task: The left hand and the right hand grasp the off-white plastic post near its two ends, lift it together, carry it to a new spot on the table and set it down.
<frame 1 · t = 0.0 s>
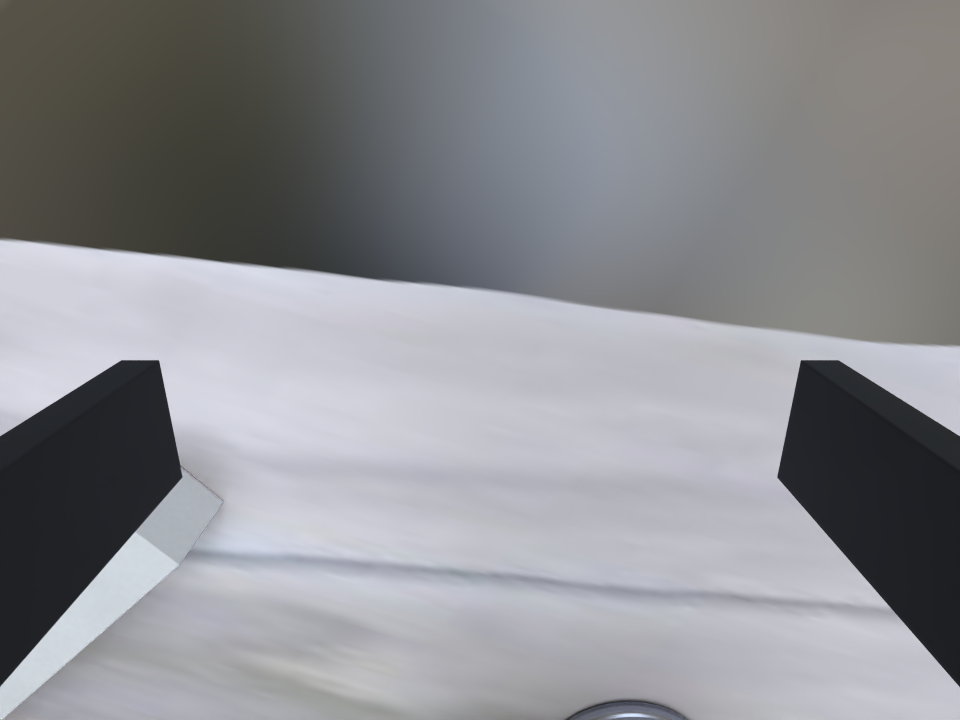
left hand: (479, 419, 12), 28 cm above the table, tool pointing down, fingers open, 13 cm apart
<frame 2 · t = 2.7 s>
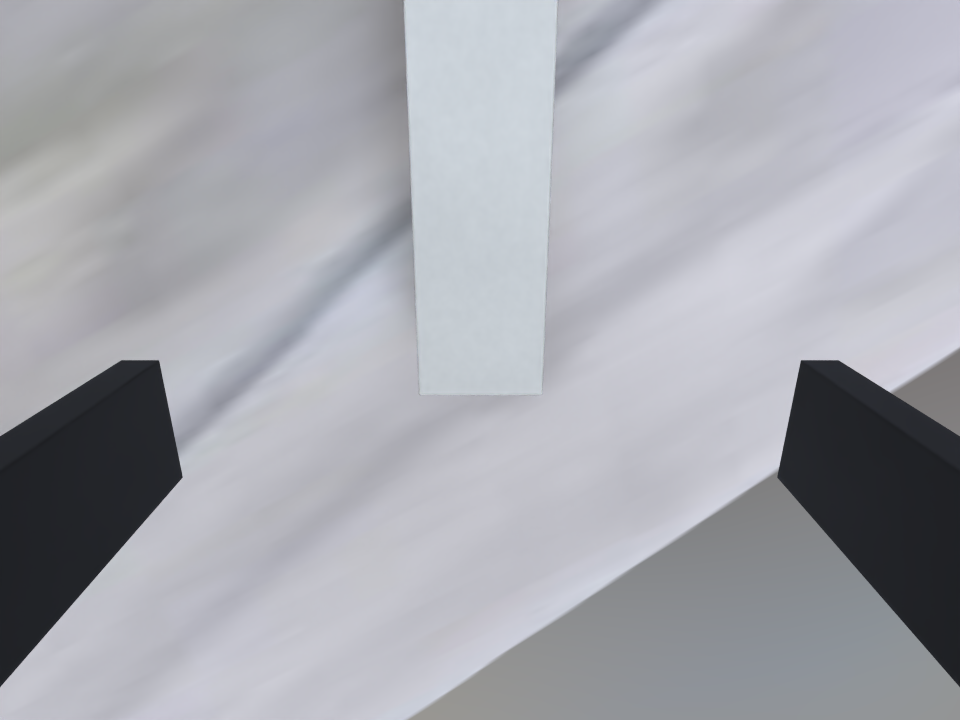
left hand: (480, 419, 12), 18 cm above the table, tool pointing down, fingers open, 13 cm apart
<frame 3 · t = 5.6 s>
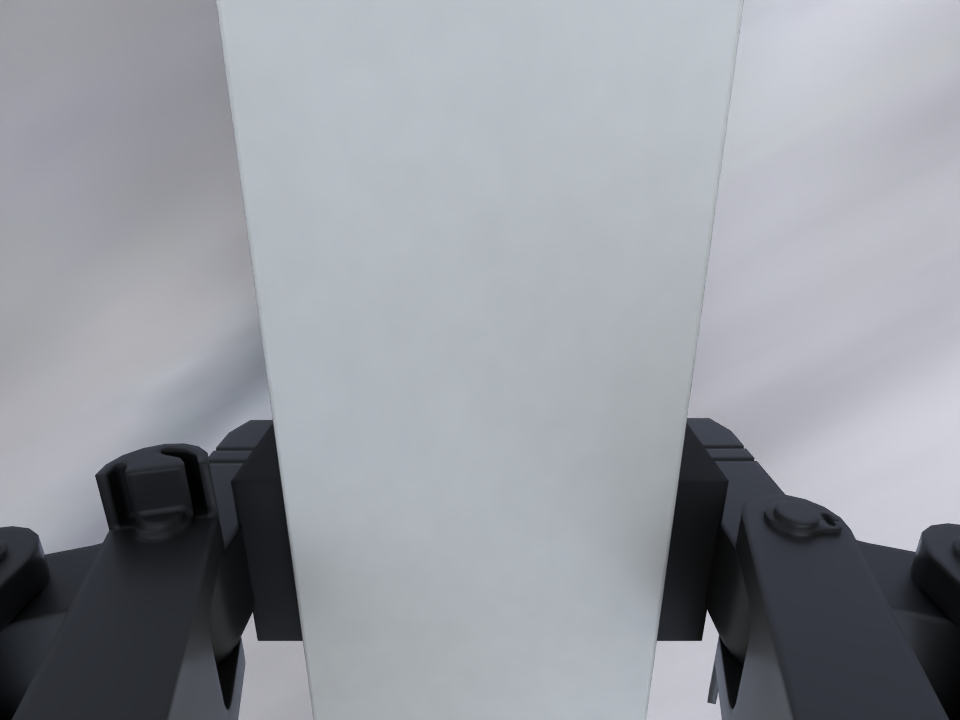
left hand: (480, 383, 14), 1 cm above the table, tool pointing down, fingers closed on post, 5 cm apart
when the left hand's fingers open (1 cm above the table, at t = 10.3 s): post stays where it is, on the table.
when the right hand's fingers open (3 cm above the table, at t = 10.5 s): post stays where it is, on the table.
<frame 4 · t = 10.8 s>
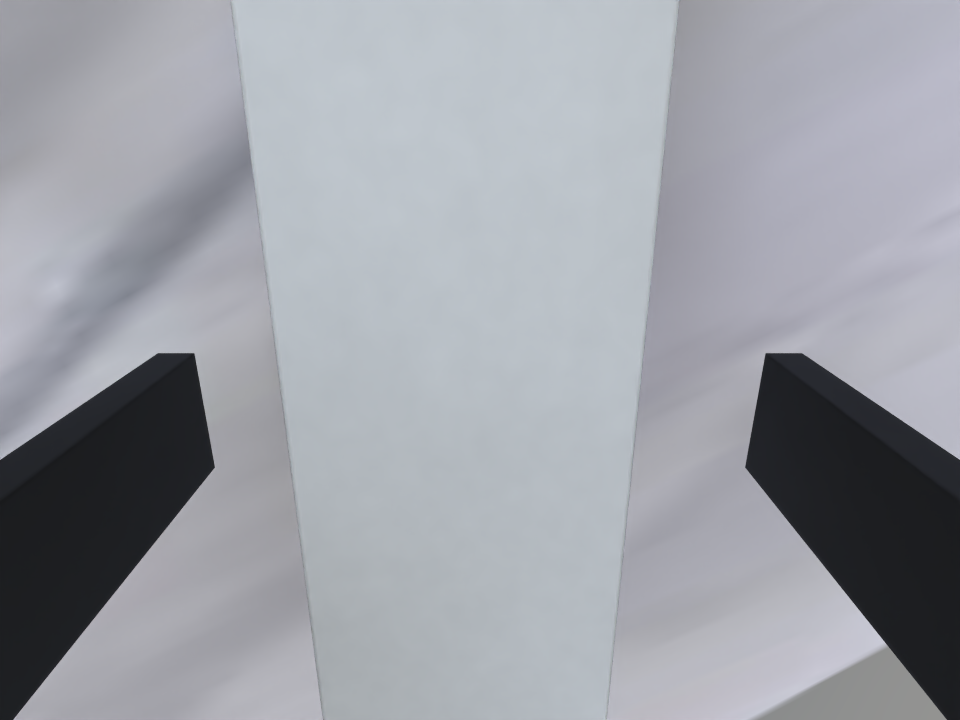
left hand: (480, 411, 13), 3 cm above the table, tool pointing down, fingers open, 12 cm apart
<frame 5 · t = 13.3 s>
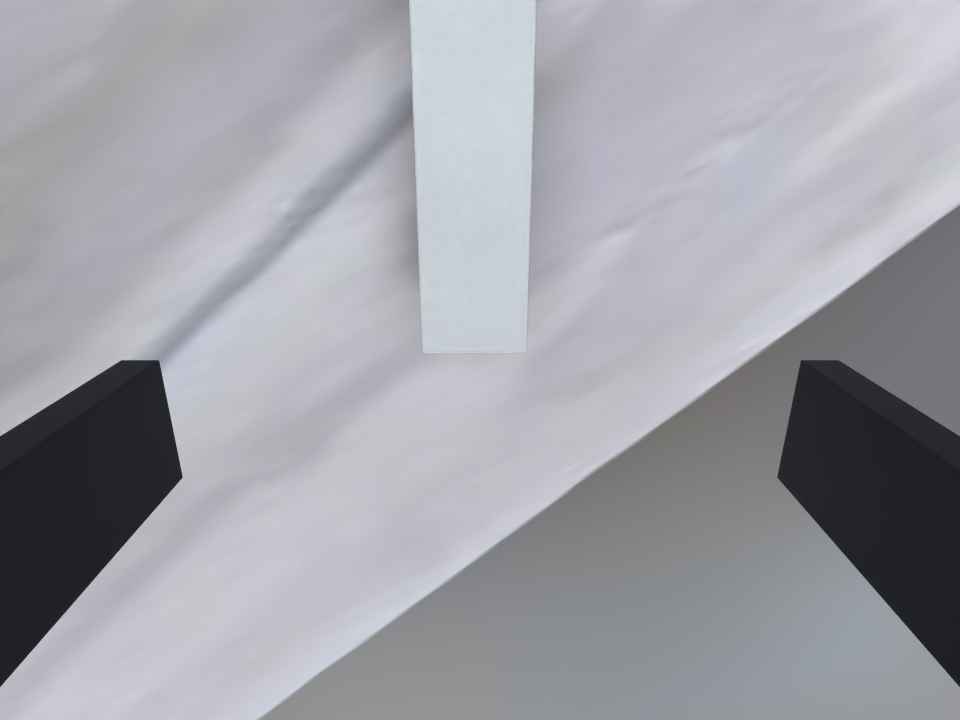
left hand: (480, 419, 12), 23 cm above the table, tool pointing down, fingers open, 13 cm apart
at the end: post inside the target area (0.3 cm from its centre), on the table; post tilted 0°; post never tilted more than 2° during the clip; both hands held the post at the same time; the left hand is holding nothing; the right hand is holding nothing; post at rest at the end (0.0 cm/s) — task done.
